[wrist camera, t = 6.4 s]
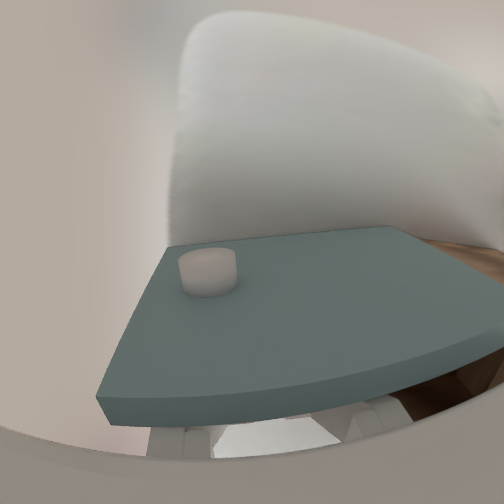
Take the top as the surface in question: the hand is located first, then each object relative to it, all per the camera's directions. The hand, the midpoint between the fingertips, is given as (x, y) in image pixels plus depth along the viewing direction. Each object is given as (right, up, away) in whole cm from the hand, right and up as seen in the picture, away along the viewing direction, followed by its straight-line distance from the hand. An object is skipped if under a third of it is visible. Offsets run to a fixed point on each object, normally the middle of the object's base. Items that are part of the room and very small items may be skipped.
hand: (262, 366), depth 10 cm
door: (+2, +5, +7) cm, 8 cm away
